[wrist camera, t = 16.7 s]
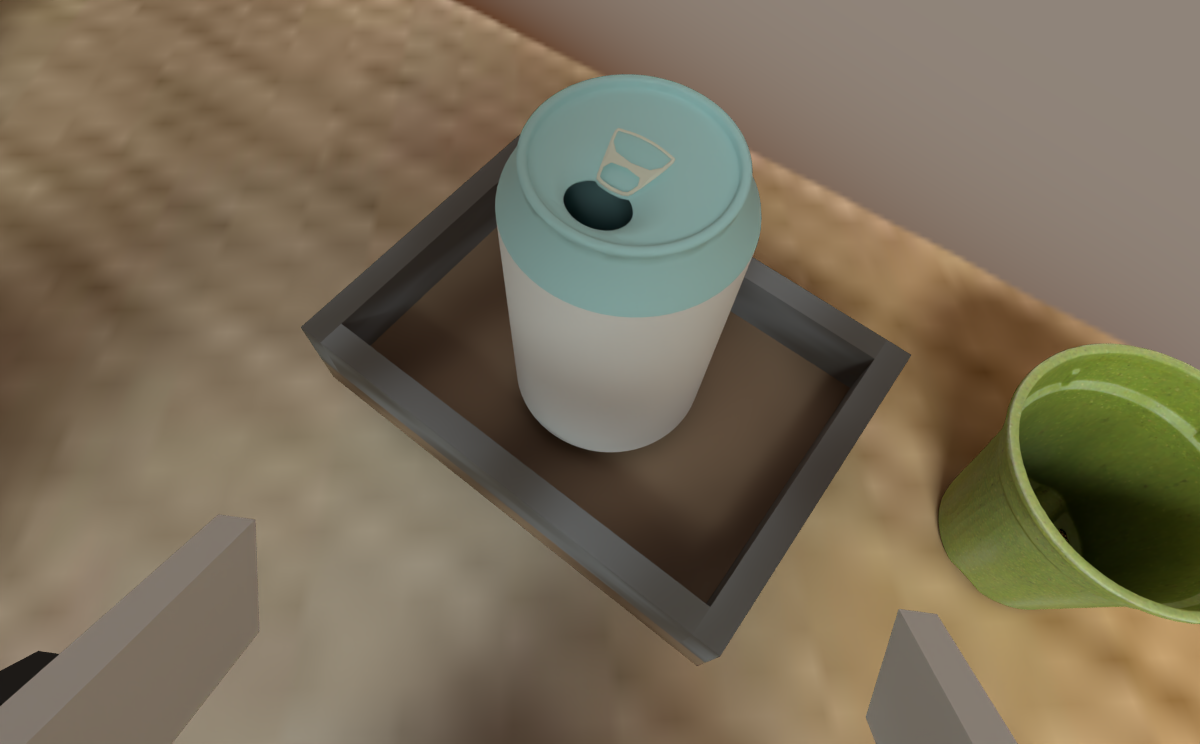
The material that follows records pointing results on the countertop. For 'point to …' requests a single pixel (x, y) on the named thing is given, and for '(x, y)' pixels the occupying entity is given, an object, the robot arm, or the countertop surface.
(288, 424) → the countertop surface
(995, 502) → the plant pot
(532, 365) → the can
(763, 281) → the grey rectangular tray
